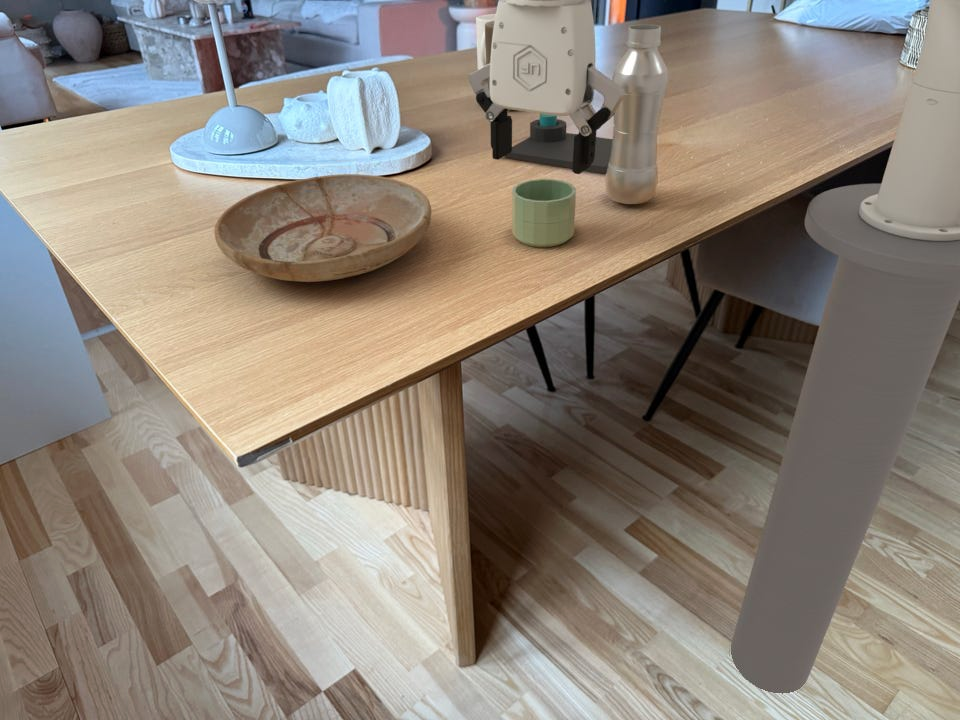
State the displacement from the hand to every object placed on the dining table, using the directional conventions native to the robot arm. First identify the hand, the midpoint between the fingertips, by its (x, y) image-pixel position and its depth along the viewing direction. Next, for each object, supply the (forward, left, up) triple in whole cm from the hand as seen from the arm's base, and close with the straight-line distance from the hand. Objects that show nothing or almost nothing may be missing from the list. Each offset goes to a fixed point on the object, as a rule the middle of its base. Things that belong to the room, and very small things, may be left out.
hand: (540, 162), depth 75 cm
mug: (+44, -62, -9) cm, 77 cm away
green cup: (0, 0, -9) cm, 9 cm away
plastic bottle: (-5, -15, -9) cm, 18 cm away
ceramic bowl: (+19, +15, -9) cm, 25 cm away
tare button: (+15, -31, -6) cm, 35 cm away
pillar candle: (+32, -49, -9) cm, 59 cm away
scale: (+10, -28, -9) cm, 31 cm away
